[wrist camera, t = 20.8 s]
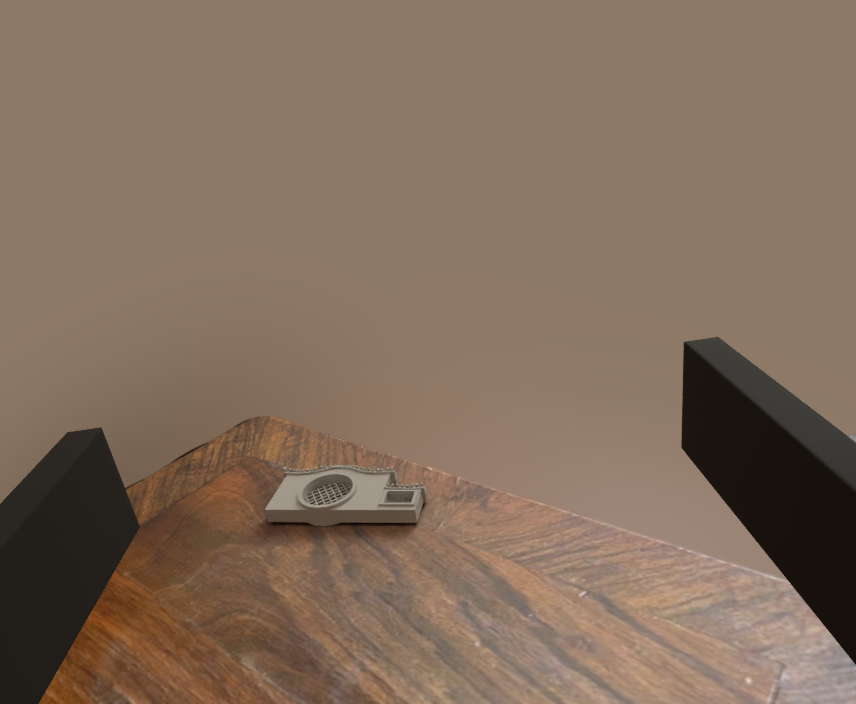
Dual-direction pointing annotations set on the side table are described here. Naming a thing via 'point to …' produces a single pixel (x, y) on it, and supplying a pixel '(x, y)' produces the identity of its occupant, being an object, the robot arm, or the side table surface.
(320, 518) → the lattice window wall
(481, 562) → the side table surface
